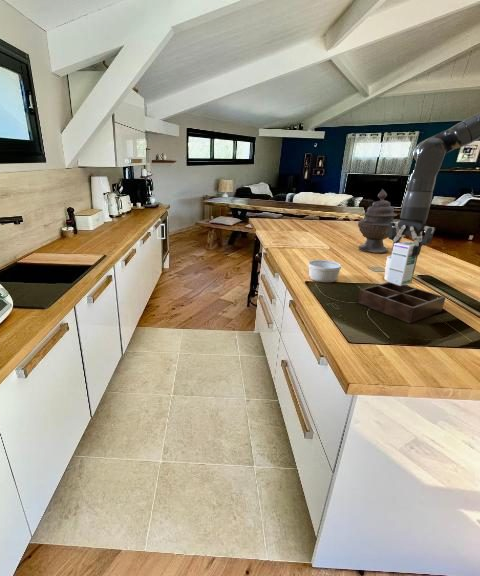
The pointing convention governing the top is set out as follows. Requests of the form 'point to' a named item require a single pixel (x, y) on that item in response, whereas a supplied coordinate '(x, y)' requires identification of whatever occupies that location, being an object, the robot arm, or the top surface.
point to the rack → (401, 301)
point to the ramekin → (324, 270)
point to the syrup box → (402, 264)
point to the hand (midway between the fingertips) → (404, 254)
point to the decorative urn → (376, 225)
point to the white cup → (387, 266)
